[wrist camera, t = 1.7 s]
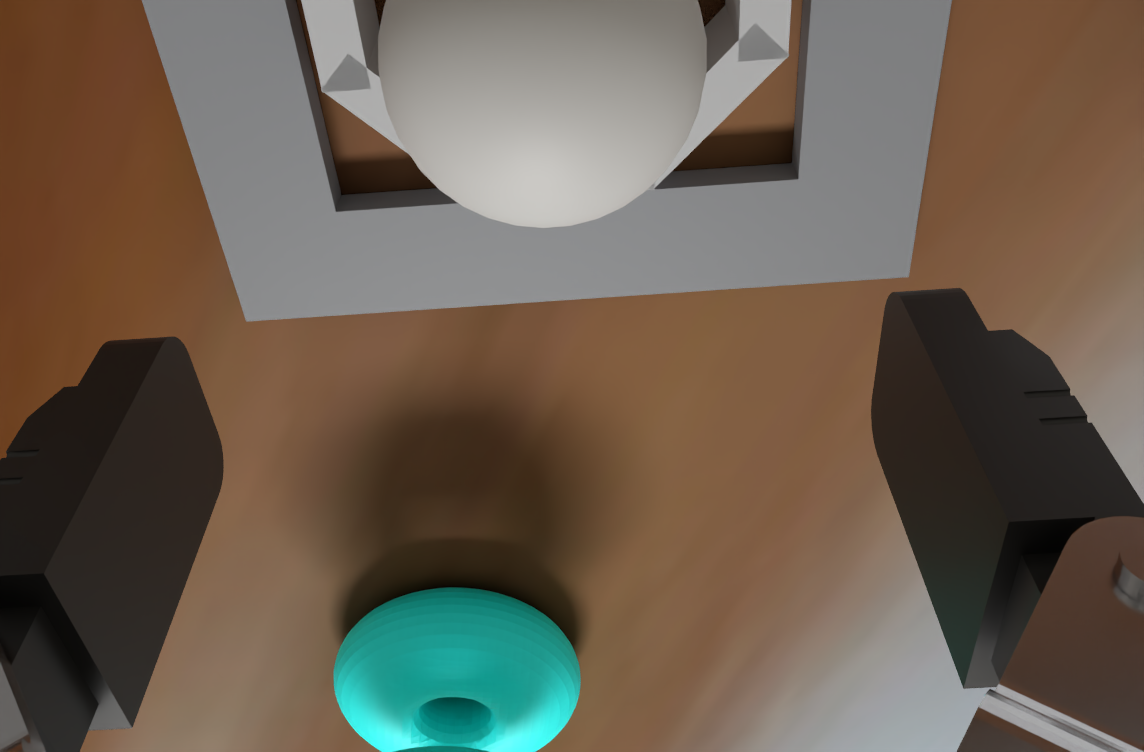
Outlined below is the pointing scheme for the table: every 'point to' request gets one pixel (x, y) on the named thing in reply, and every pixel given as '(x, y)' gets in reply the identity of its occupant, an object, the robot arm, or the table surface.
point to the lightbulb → (542, 99)
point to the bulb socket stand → (570, 253)
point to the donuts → (456, 674)
